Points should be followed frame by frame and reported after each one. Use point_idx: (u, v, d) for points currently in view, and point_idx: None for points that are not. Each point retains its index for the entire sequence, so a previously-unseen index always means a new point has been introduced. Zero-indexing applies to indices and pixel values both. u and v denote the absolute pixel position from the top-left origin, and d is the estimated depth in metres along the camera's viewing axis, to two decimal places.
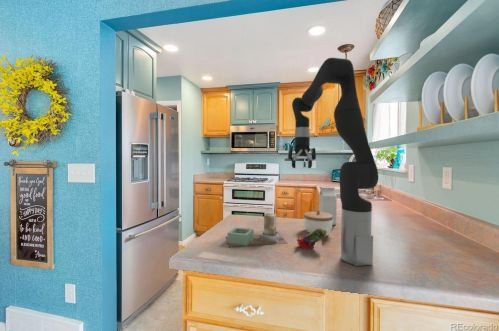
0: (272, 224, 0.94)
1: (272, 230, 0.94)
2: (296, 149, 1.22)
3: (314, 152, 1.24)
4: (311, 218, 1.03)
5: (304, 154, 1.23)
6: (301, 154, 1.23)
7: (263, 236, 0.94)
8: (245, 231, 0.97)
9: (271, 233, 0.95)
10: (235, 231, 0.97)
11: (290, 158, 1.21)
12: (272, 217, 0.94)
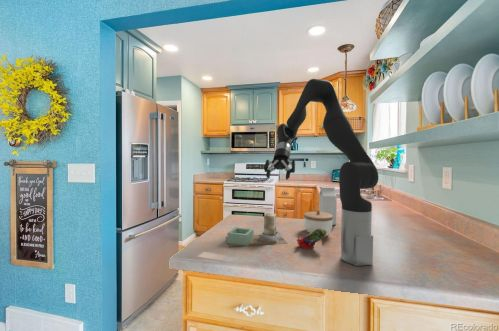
0: (272, 224, 0.94)
1: (272, 230, 0.94)
2: (273, 161, 1.14)
3: (293, 163, 1.10)
4: (311, 218, 1.03)
5: (281, 165, 1.11)
6: (277, 165, 1.12)
7: (263, 236, 0.94)
8: (245, 231, 0.97)
9: (271, 233, 0.95)
10: (235, 231, 0.97)
11: (264, 167, 1.12)
12: (272, 217, 0.94)
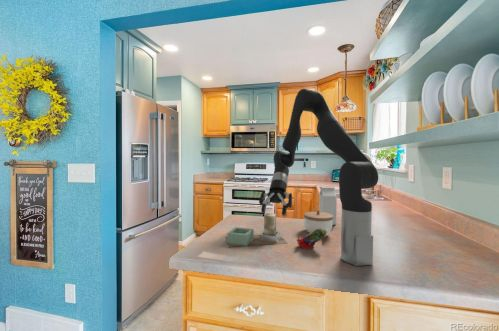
0: (272, 224, 0.94)
1: (272, 230, 0.94)
2: (268, 193, 1.08)
3: (290, 197, 1.03)
4: (311, 218, 1.03)
5: (277, 198, 1.05)
6: (273, 198, 1.05)
7: (263, 236, 0.94)
8: (245, 231, 0.97)
9: (271, 233, 0.95)
10: (235, 231, 0.97)
11: (259, 201, 1.06)
12: (272, 217, 0.94)
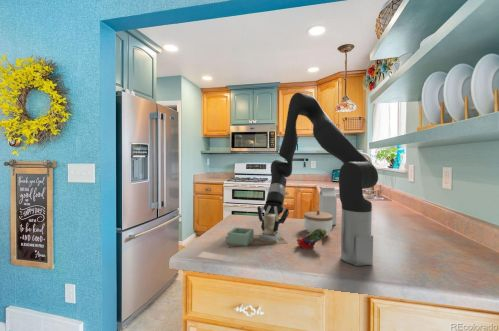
0: (272, 224, 0.94)
1: (272, 230, 0.94)
2: (265, 206, 1.02)
3: (285, 213, 0.97)
4: (311, 218, 1.03)
5: (272, 211, 0.99)
6: (272, 211, 1.00)
7: (263, 236, 0.94)
8: (245, 231, 0.97)
9: (271, 233, 0.95)
10: (235, 231, 0.97)
11: (259, 217, 0.99)
12: (272, 217, 0.94)
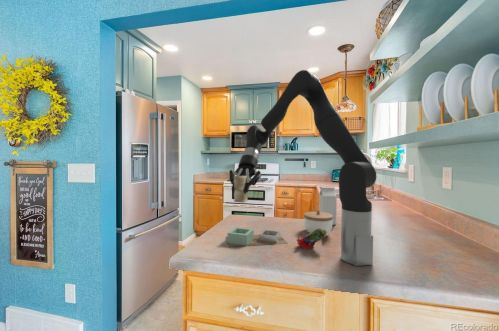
0: (242, 185, 0.92)
1: (242, 191, 0.92)
2: (237, 170, 0.99)
3: (256, 174, 0.95)
4: (311, 218, 1.03)
5: (244, 174, 0.97)
6: (243, 173, 0.97)
7: (263, 236, 0.94)
8: (245, 231, 0.97)
9: (241, 194, 0.92)
10: (235, 231, 0.97)
11: (230, 179, 0.96)
12: (242, 178, 0.92)
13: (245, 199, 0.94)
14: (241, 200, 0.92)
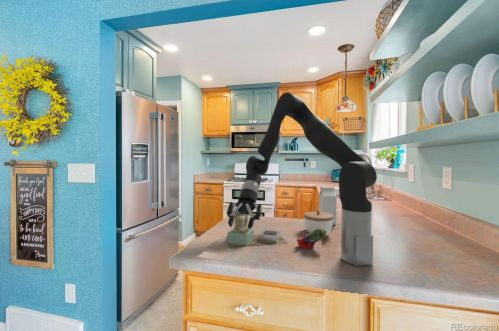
0: (242, 226, 0.92)
1: (242, 232, 0.92)
2: (237, 204, 1.00)
3: (258, 208, 0.95)
4: (311, 218, 1.03)
5: (245, 209, 0.97)
6: (242, 209, 0.97)
7: (263, 236, 0.94)
8: None
9: None
10: None
11: (227, 213, 0.97)
12: (242, 218, 0.92)
13: None
14: None
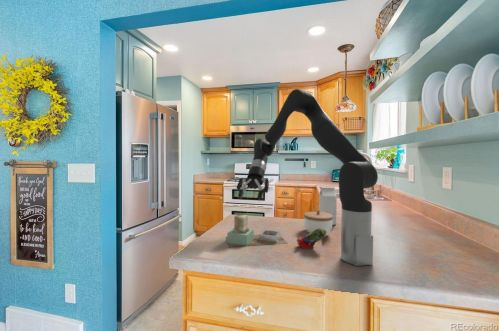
0: (242, 226, 0.92)
1: (242, 232, 0.92)
2: (246, 179, 1.11)
3: (266, 182, 1.06)
4: (311, 218, 1.03)
5: (254, 184, 1.08)
6: (250, 184, 1.08)
7: (263, 236, 0.94)
8: None
9: None
10: None
11: (237, 187, 1.08)
12: (242, 218, 0.92)
13: None
14: None
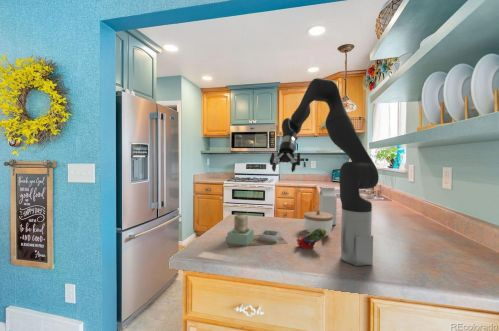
0: (242, 226, 0.92)
1: (242, 232, 0.92)
2: (278, 154, 1.16)
3: (298, 156, 1.12)
4: (311, 218, 1.03)
5: (286, 158, 1.13)
6: (283, 158, 1.13)
7: (263, 236, 0.94)
8: None
9: None
10: None
11: (270, 160, 1.14)
12: (242, 218, 0.92)
13: None
14: None
